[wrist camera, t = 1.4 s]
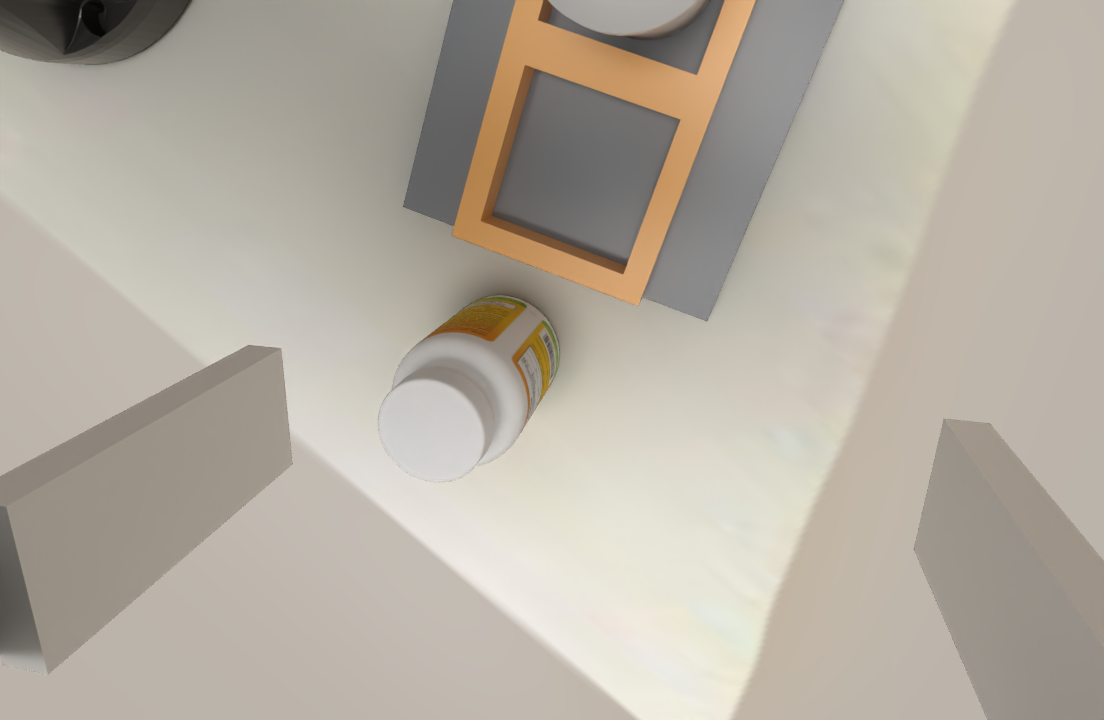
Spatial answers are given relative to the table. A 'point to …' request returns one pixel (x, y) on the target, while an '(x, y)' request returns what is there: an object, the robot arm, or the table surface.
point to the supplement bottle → (468, 389)
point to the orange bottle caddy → (614, 134)
